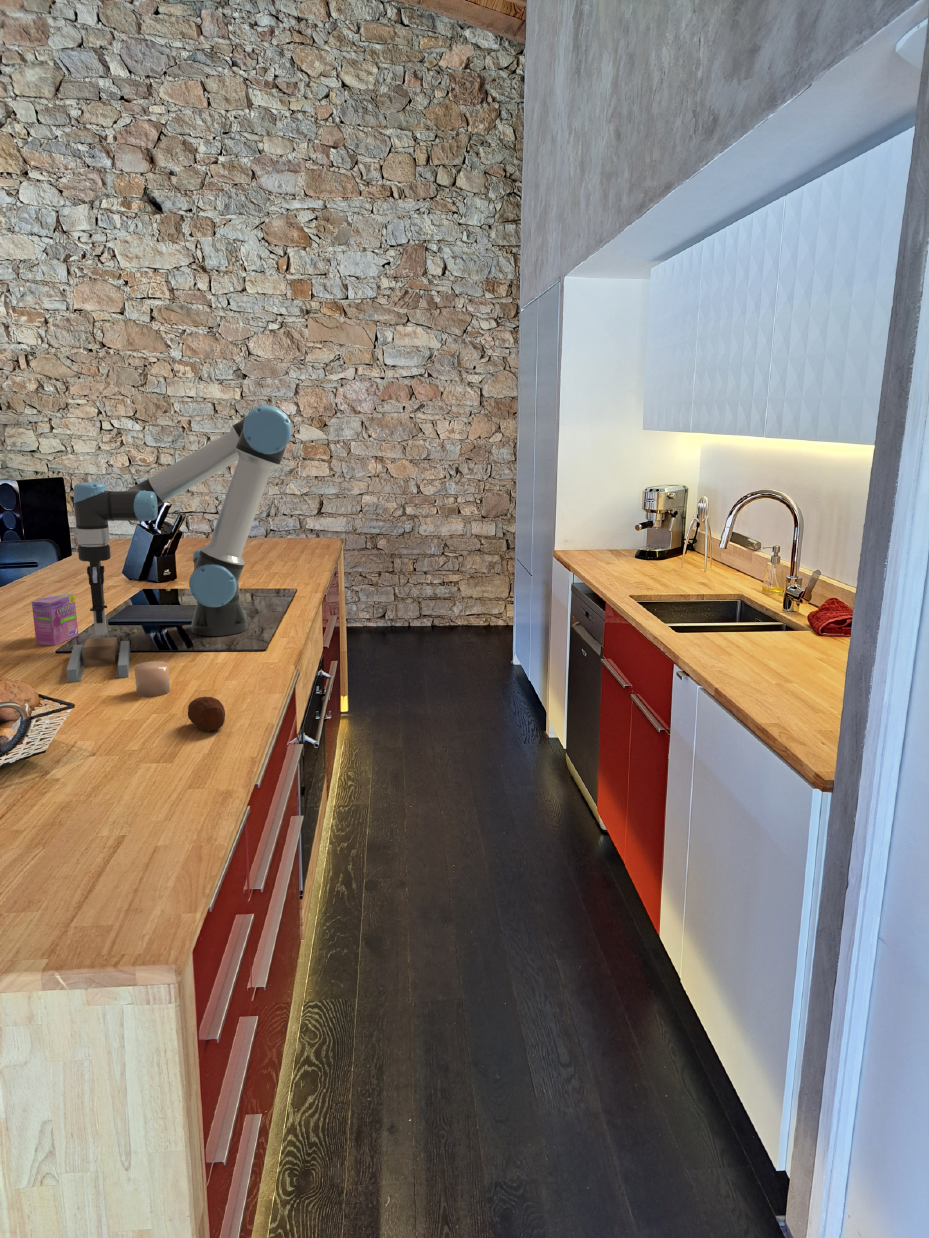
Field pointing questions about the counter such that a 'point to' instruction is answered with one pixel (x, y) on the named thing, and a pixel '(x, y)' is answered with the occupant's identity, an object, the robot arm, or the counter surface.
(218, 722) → the potato
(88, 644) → the block
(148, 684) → the marshmallow
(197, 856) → the counter surface
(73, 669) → the chute
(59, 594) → the box
